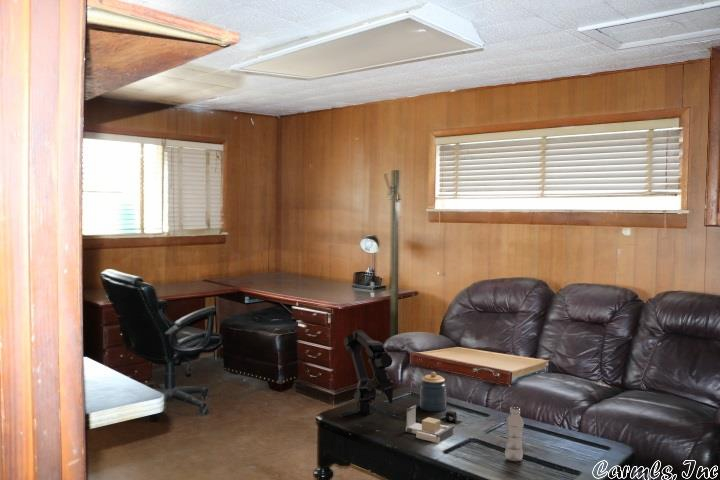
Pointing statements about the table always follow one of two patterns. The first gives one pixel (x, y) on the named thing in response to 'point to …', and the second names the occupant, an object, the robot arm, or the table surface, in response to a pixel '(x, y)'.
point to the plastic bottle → (514, 435)
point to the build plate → (450, 420)
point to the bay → (439, 436)
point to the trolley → (427, 424)
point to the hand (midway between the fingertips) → (391, 403)
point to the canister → (433, 393)
